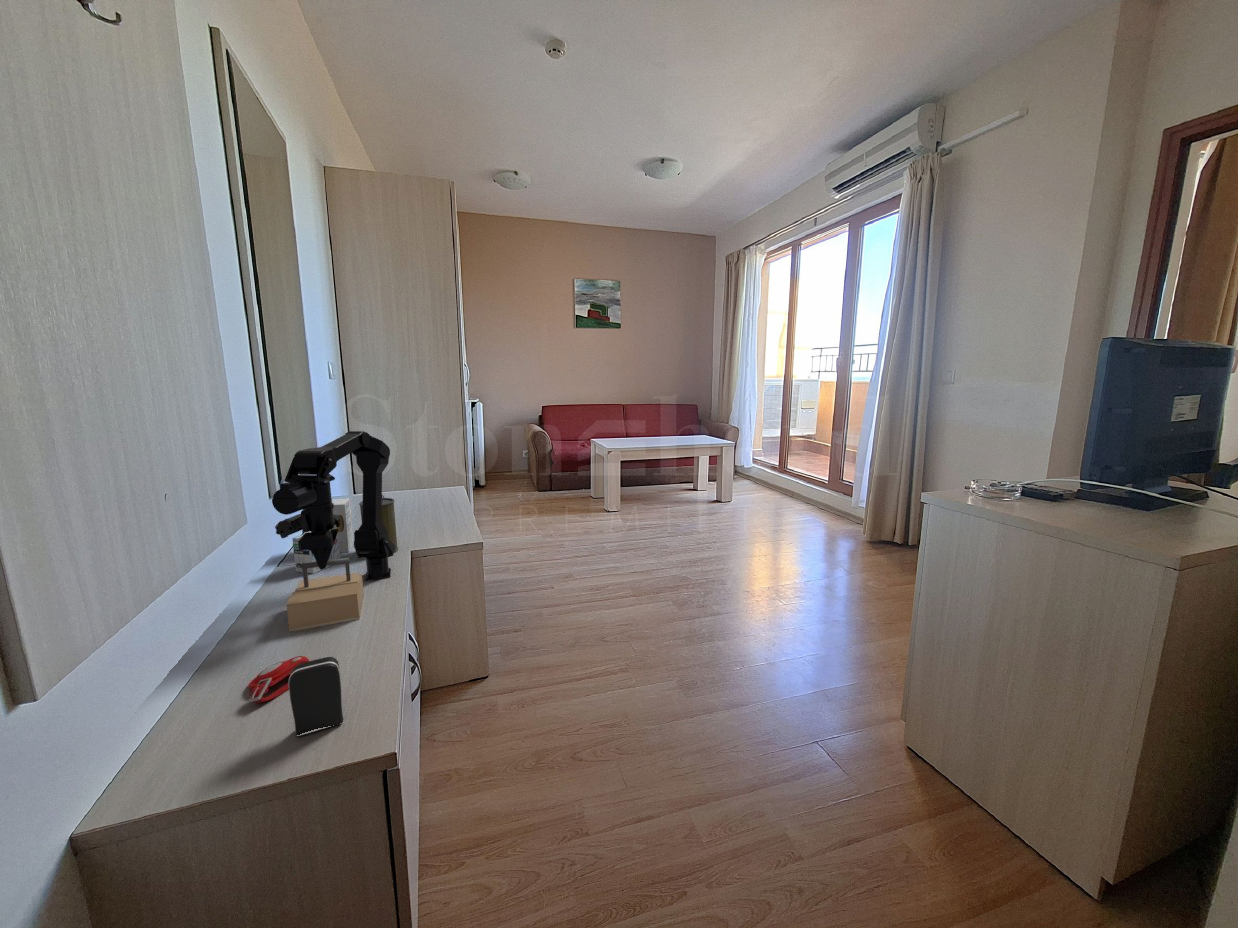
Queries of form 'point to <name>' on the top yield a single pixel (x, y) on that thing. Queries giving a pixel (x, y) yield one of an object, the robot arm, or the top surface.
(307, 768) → the top surface
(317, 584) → the carton flap
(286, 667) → the tracker holder
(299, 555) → the light bulb box
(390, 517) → the canister
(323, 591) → the kraft carton
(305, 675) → the battery charger
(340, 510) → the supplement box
